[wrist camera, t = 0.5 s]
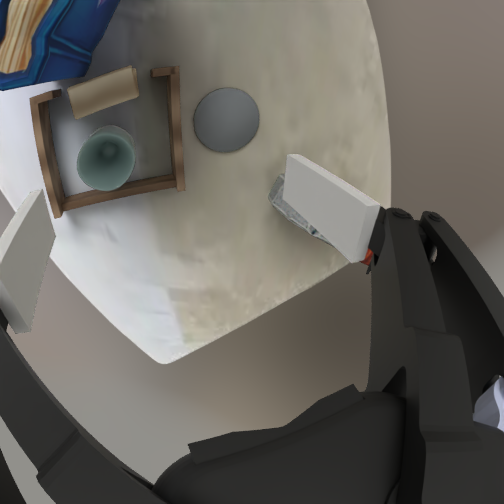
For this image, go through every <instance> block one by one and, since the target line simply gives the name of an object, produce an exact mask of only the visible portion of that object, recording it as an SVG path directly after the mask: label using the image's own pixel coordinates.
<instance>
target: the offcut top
mask: <svg viewBox="0 0 504 504" xmlns="http://www.w3.org/2000/svg"><path fill="white" fill-rule="evenodd" d="M68 92H69V96H70V100H71V104H72V108H73V112H74V115H75V119H76V120H77V119H80V118H82V117H85V116H87V115H90V114H92V113H95V112H97V111H100V110H102V109H105V108H108V107H110V106H113V105H116V104H119V103H122V102H125V101H128V100H131V99H134V98H137V93H136V88H135V84H134V79H133V74H132V70H131V68H128V69H125V70H122V71H119V72H116V73H113V74H110V75H107V76H104V77H101V78H99V79H96V80H93V81H91V82H88V83H86V84H83V85H81V86H78V87H76V88H74V89H71V90H69V91H68Z"/></svg>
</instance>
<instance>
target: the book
mask: <svg viewBox="0 0 504 504" xmlns="http://www.w3.org/2000/svg"><path fill="white" fill-rule="evenodd" d="M119 1H120V0H0V90H1V91H5V90H10V89H14V88H19V87H25V86H30V85H36V84H41V83H46V82H51V81H57V80H63V79H69V78H76V77H84V76H85V74H86V72H87V70H88V68H89V66H90V64H91V60H92V52H93V50H94V49H95V47H96V46H97V44H98V43H99V41H100V40H101V38H102V37H103V35H104V32H105V30H106V28H107V26H108V23H109V21H110V19H111V17H112V15H113V13H114V11H115V9H116V7H117V5H118V3H119Z"/></svg>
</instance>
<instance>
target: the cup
mask: <svg viewBox="0 0 504 504" xmlns="http://www.w3.org/2000/svg"><path fill="white" fill-rule="evenodd" d="M135 161H136V149H135V143H134V140H133V138H132V136H131V135H130V134H129V133H128V132H127V131H126V130H125V129H123V128H121V127H119V126H116V125H105V126H102V127H100V128H98V129H96V130H95V131H94V132H93V133H92V134H91V135H90V136H89V137H88V139H87V140H86V141H85V143H84V144H83V146H82V148H81V150H80V152H79V155H78V159H77V170H78V174H79V176H80V178H81V179H82V180H83V182H84V183H86V184H87V185H88V186H90V187H92V188H94V189H97V190H101V191H111V190H114V189H117V188H119V187H120V186H122V185H123V184H124V183H125V182H126V181H127V180H128V178H129V177H130V175H131V173H132V171H133V169H134V165H135Z"/></svg>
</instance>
